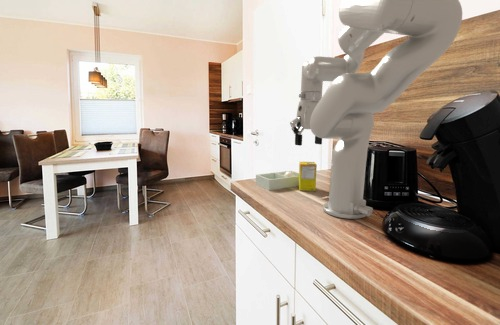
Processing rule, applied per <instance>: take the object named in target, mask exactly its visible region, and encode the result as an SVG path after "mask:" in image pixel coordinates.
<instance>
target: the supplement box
mask: <svg viewBox="0 0 500 325" xmlns="http://www.w3.org/2000/svg"><path fill="white" fill-rule="evenodd" d="M298 173H299V186H298V190H299V191H300V192H316V188H317V187H316V186H317V185H316V184H317V163H316V162H315V161H299V165H298Z"/></svg>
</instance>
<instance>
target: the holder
mask: <svg viewBox="0 0 500 325" xmlns="http://www.w3.org/2000/svg"><path fill="white" fill-rule="evenodd" d="M289 171H290V172H293V173H294V174H295V176H293V177H286V176H284V174H285V173H286V172H289ZM255 185H257V186H259V187H261V188H263V189H265V190H267V191H274V190H275V191H276V190H282V189H287V188H295V187H299V172H298V171H297V172H296V171H293V170H287V171H279V172H278V171H277V172H269V173H268V172H267V173H259V174H255Z"/></svg>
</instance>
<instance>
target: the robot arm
mask: <svg viewBox="0 0 500 325" xmlns="http://www.w3.org/2000/svg"><path fill="white" fill-rule="evenodd" d="M461 4H462V3H461V2H460V0H341V2H340V6H339V10H338V17H339V20H340V23H341V24H342V25H344V27H342V29H341V30H340V32H339V34H338V38H337V39H338V40H337V41H338V45H339V47H340V49H341V50H342V51H343V52H344V53H345V54H346V55H345V56H343V57H342V58H341V57H331V56H320V55H319V56H314V57H313V58H311V59H310V60H309V61H306V62H304V63H302V66H301V80H300V83H301V85H300V93H299V95H298V98H300V100H299V101H298V105H297V109H296V110H297V111H296V118H294V119H293V120H291V121H290V122H289V124H290V127H291V130H292V132H293V134H294V136H295V137H294V145H295V146H303V134H302V133H303V132H304V130H310V131H311V133H312V134H313V135H314V143H315V144H316V145H322V144H323V139H337V142H336V143H335V144H334V146H333V149H332V152H331V160H330V161H331V162H330V164H331V165H330V178H329V192H328V201H327V202H325V203H324V204H323V205H322V210H323V211H324V212H325V213H326V214H327V215H330V216H333V217H335V218H341V219H349V220H353V219H354V220H355V219H356V220H357V219H358V220H359V219H362V218H365V217H371V215H372V213H373V211H374V208H373V207H371V206H368V205H367V200H366V199H364V190H365V181H366V167H367V158H368V149H369V143H370V139H371V137H372V136H371V135H372V132H373V129H374V124H375V116H374V114H379V113H382V112H384V111H385V110H386V109H388V107H390V106H391V105H392V104H393V103H394V102H395V101H396V100H397V99H398V98H399V97H400V96H402V94H403V93H404V92H405V91H406V90H407V89H408V88H409V87H410V86H411V85H412V84H413V83H414V82H415V81H416V80H417V79H418V77H419V76H421V75H422V74H423V73H424V72H425V71H426V70H428V69H429V68H430V67H431V66H432V65H433V64H434V63H436V61H438V60H439V59H440V58H441V57H442V56H444V54H445V53H446V52H447V50H448V49H449V48H450V47H451V46H452V45H453V43H454V41H455V39H456V38H457V35H458V33H459V31H460V28H461V26H462V21H463V7H462V5H461ZM384 33H385V34H393V35H399V36H408V38H407V39H406V40H404V41H403V42H401V43H399V44H398V45H396V46H394V47H393V48H392V49H391V50H389V51H388V52H387V53H386V54H385V55H384V56H383V57H382V58H381V60H380V61H379V63H378V64H377V65H376V66H375V67H374V68H373V69H372V70H370V71H368V72H357V71H358V70H359V69H360V67H361V66H362V63H363V61H364V57H365V56H364V55H365V51H366V49H368V48H369V47H371V45H372V44H374V43H375V42H376V41H377V40H378V39H379V38H380V37H381V36H383V35H384ZM324 82H331V83H330V85H329V86H328V88H326V90H325V92H324V94H323V84H324Z"/></svg>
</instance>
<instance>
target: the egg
mask: <svg viewBox="0 0 500 325" xmlns="http://www.w3.org/2000/svg"><path fill="white" fill-rule="evenodd" d="M288 171H289V172H286V173H285V174H284V176H286V177H293V176H295V174H294V173H293V172H290V171H291V170H288Z"/></svg>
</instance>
